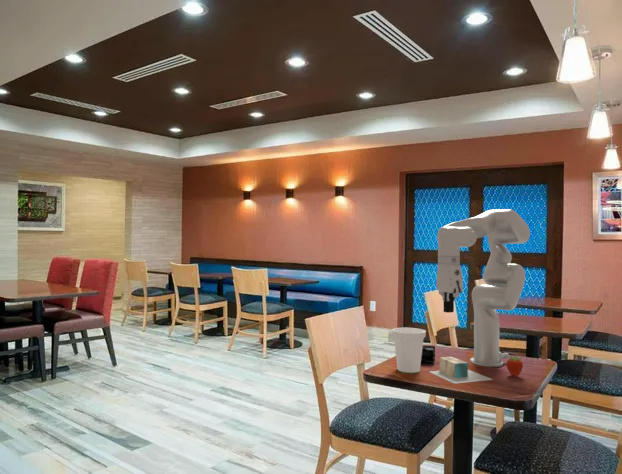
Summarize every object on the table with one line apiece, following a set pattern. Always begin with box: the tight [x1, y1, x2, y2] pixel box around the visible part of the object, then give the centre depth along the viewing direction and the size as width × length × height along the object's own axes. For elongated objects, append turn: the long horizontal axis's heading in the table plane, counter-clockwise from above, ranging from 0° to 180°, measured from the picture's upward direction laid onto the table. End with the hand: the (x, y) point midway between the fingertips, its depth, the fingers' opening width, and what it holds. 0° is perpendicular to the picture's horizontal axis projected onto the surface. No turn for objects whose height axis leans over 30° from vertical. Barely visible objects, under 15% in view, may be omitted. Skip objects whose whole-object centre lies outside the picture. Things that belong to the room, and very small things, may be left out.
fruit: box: [506, 355, 524, 378], centre depth 174 cm, size 5×5×8 cm
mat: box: [428, 369, 494, 385], centre depth 174 cm, size 16×16×1 cm
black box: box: [420, 345, 436, 366], centre depth 194 cm, size 10×7×7 cm
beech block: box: [439, 356, 469, 378], centre depth 176 cm, size 5×5×10 cm
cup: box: [391, 327, 427, 374], centre depth 181 cm, size 12×12×15 cm
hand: (448, 311), depth 173 cm, fingers closed
